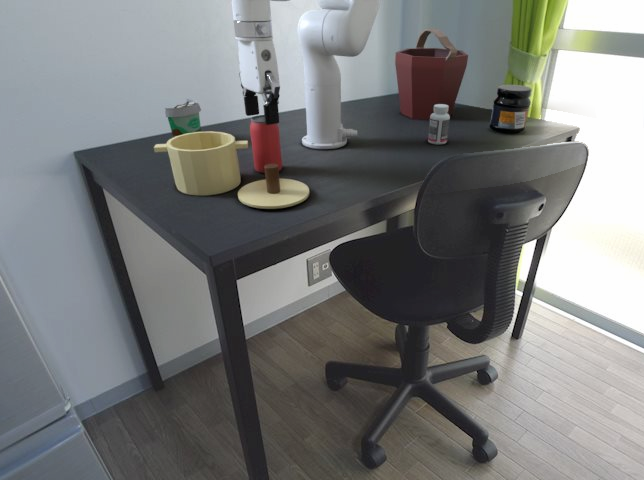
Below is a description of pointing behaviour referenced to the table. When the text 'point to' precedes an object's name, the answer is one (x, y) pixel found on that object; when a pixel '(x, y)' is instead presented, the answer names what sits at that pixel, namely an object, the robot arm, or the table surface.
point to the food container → (184, 118)
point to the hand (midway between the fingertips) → (262, 119)
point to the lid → (273, 191)
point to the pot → (204, 162)
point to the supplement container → (510, 109)
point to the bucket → (429, 76)
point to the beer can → (265, 143)
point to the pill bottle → (439, 125)
